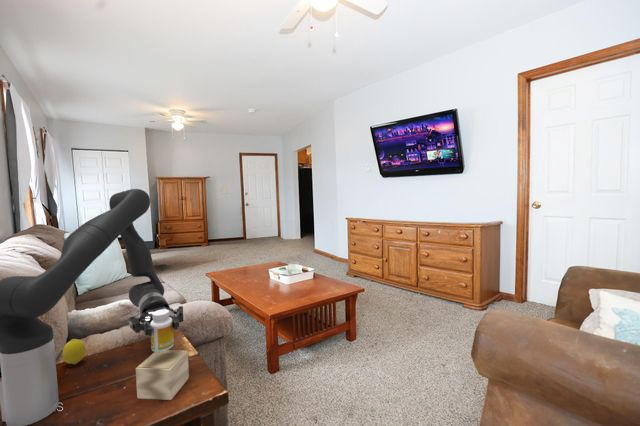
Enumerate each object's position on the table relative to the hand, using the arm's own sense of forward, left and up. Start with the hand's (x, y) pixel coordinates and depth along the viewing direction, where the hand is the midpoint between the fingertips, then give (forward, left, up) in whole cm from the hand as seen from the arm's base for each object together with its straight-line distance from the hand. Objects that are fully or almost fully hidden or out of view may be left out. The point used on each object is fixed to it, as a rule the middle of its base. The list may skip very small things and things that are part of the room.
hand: (163, 329), depth 79 cm
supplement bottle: (-2, +2, -6) cm, 7 cm away
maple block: (-2, +2, -17) cm, 17 cm away
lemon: (-36, +11, -17) cm, 41 cm away
